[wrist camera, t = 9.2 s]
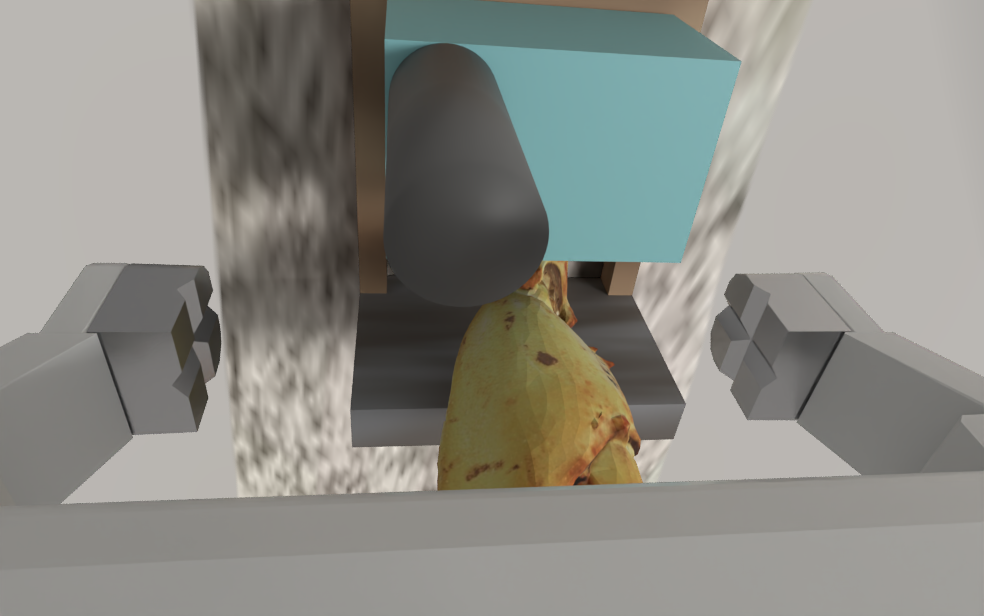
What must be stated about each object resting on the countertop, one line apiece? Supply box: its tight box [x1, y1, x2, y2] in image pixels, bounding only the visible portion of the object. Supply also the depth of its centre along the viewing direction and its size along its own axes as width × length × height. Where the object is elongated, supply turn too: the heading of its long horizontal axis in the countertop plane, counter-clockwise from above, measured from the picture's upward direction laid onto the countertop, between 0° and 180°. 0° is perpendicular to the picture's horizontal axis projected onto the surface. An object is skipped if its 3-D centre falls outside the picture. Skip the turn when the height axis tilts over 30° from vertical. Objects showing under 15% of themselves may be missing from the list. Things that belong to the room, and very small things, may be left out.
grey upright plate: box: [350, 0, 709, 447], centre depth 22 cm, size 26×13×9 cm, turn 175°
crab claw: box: [437, 261, 643, 491], centre depth 22 cm, size 7×5×20 cm
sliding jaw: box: [383, 0, 741, 307], centre depth 20 cm, size 7×10×14 cm
